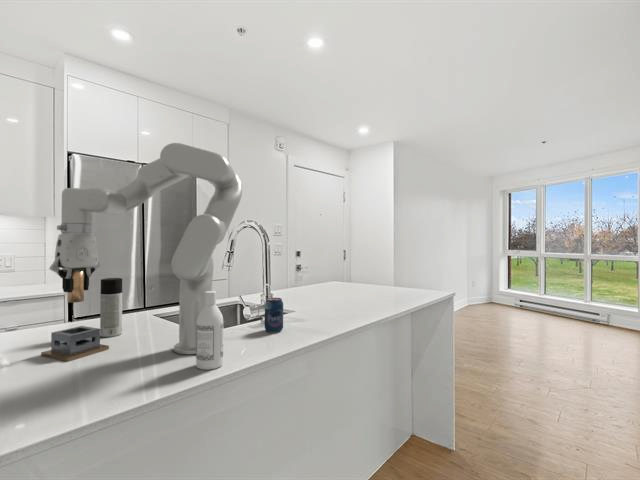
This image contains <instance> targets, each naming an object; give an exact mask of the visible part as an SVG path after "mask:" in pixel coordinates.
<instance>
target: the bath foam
mask: <svg viewBox="0 0 640 480" xmlns="http://www.w3.org/2000/svg"><path fill="white" fill-rule="evenodd" d="M195 363H196V364H195V365H196V367H197V368H198V369H199V370H203V371H204V370H205V371H208V370H215V369H218V368H220V367H221V366H223V364H224V316H223V313H222V312H221V310H220V308H219V307H218V306H217V292H216V291H215V290H212V291H206V292H205V305H204V307H203V308H202V310H201V312H200V313H199V315H198V318H197V324H196V354H195Z"/></svg>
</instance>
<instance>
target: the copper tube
mask: <svg viewBox="0 0 640 480" xmlns="http://www.w3.org/2000/svg"><path fill="white" fill-rule="evenodd" d="M84 271H85V268H72V273H71V277H70V279H73V287H72V292H67V298H66V299H67V303H81V302H84V301H85V290H84Z"/></svg>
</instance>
